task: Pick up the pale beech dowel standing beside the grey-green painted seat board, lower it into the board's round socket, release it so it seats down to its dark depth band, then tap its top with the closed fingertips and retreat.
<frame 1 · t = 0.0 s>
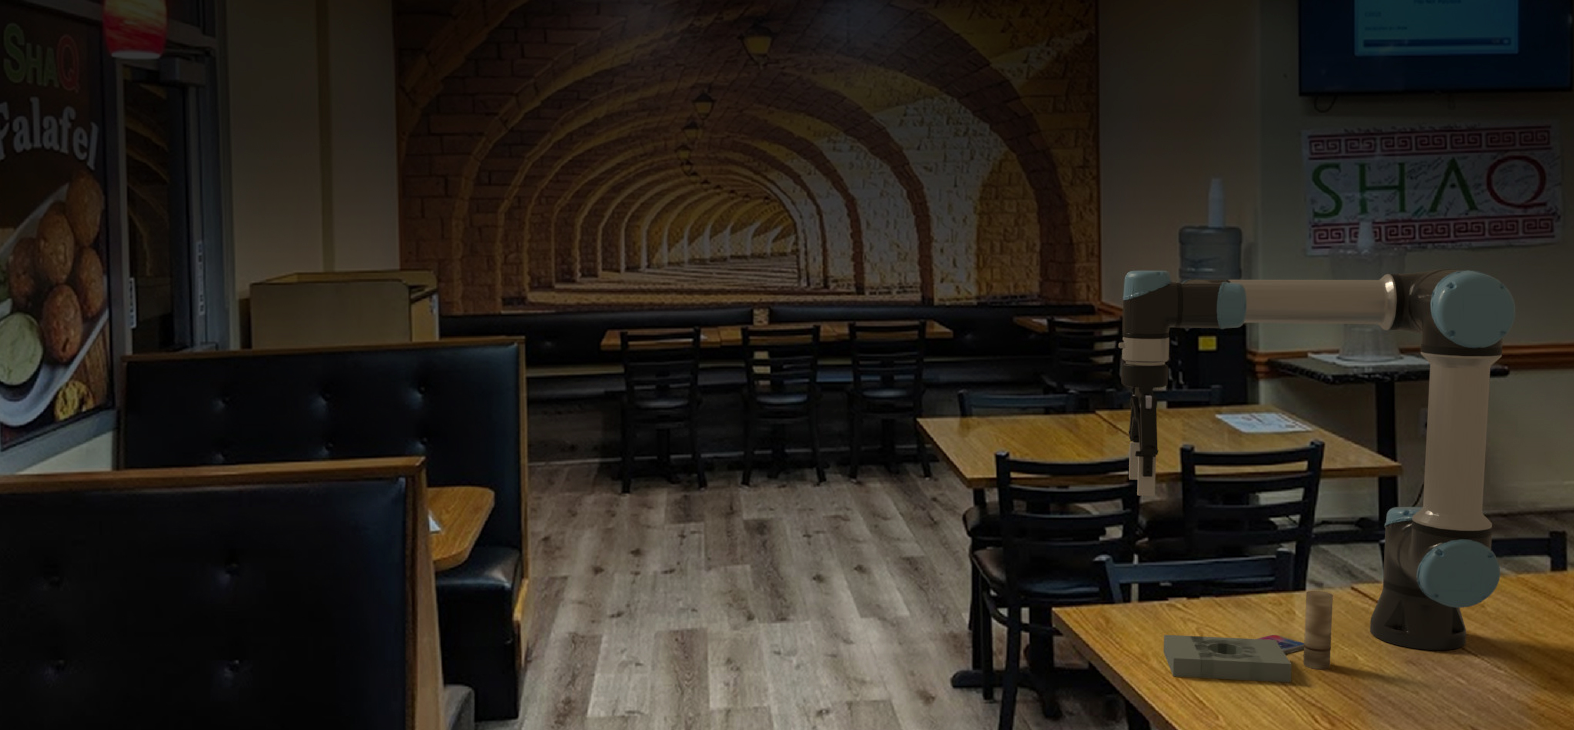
hand: (1141, 487, 216), 28 cm above the table, fingers open, 13 cm apart
smartphone: (1263, 652, 218), on the table
board: (1224, 666, 209), on the table
peg: (1316, 665, 209), on the table
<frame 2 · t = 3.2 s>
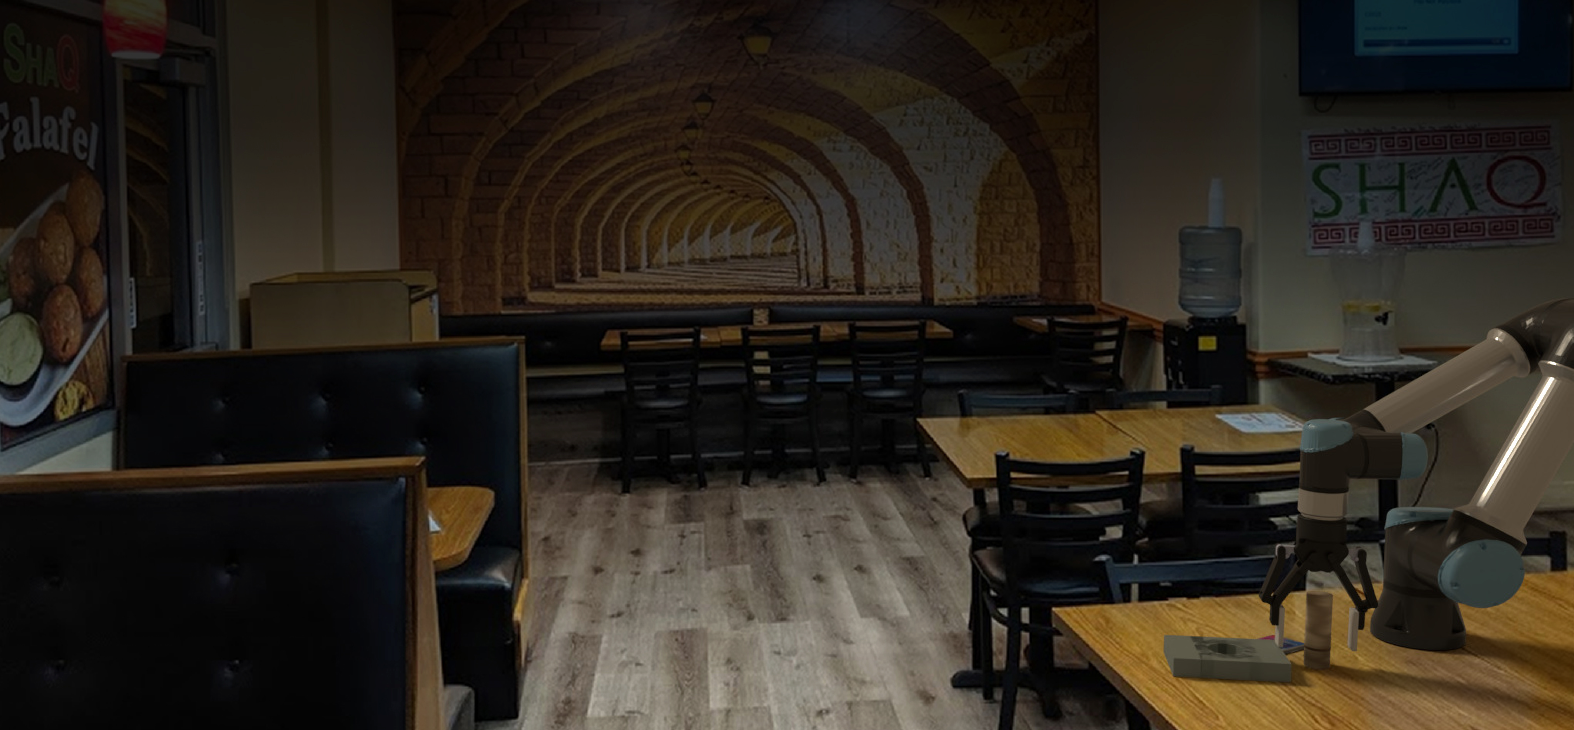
hand: (1315, 646, 209), 3 cm above the table, fingers open, 11 cm apart
nothing on the table moved.
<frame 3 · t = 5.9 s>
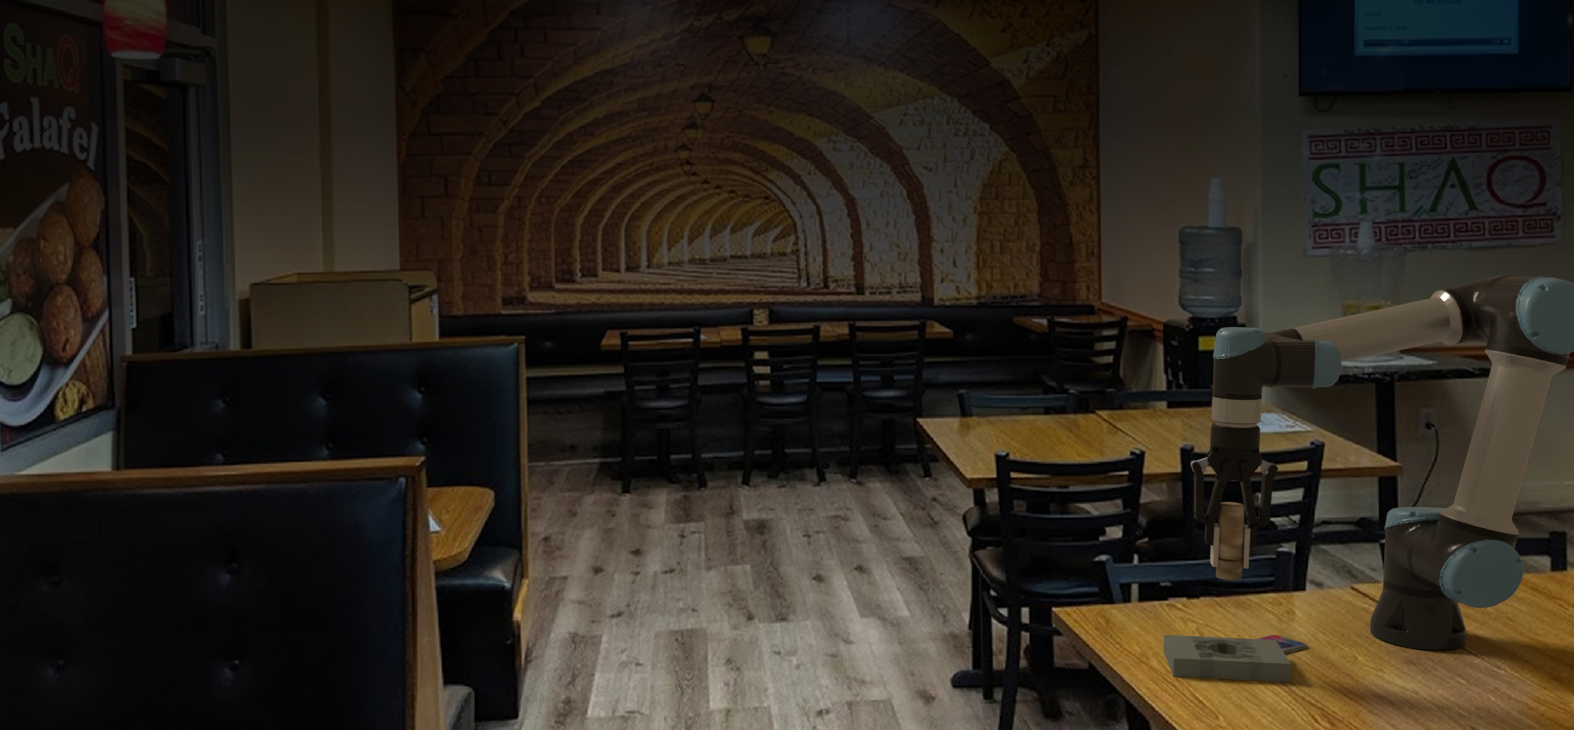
hand: (1229, 565, 207), 17 cm above the table, fingers closed on peg, 4 cm apart
peg: (1228, 576, 207), point 15 cm above the table, touching gripper
everything else where it was.
when the fingers open (4 cm above the table, at t = 8.2 s): peg drops 2 cm, resting in board.
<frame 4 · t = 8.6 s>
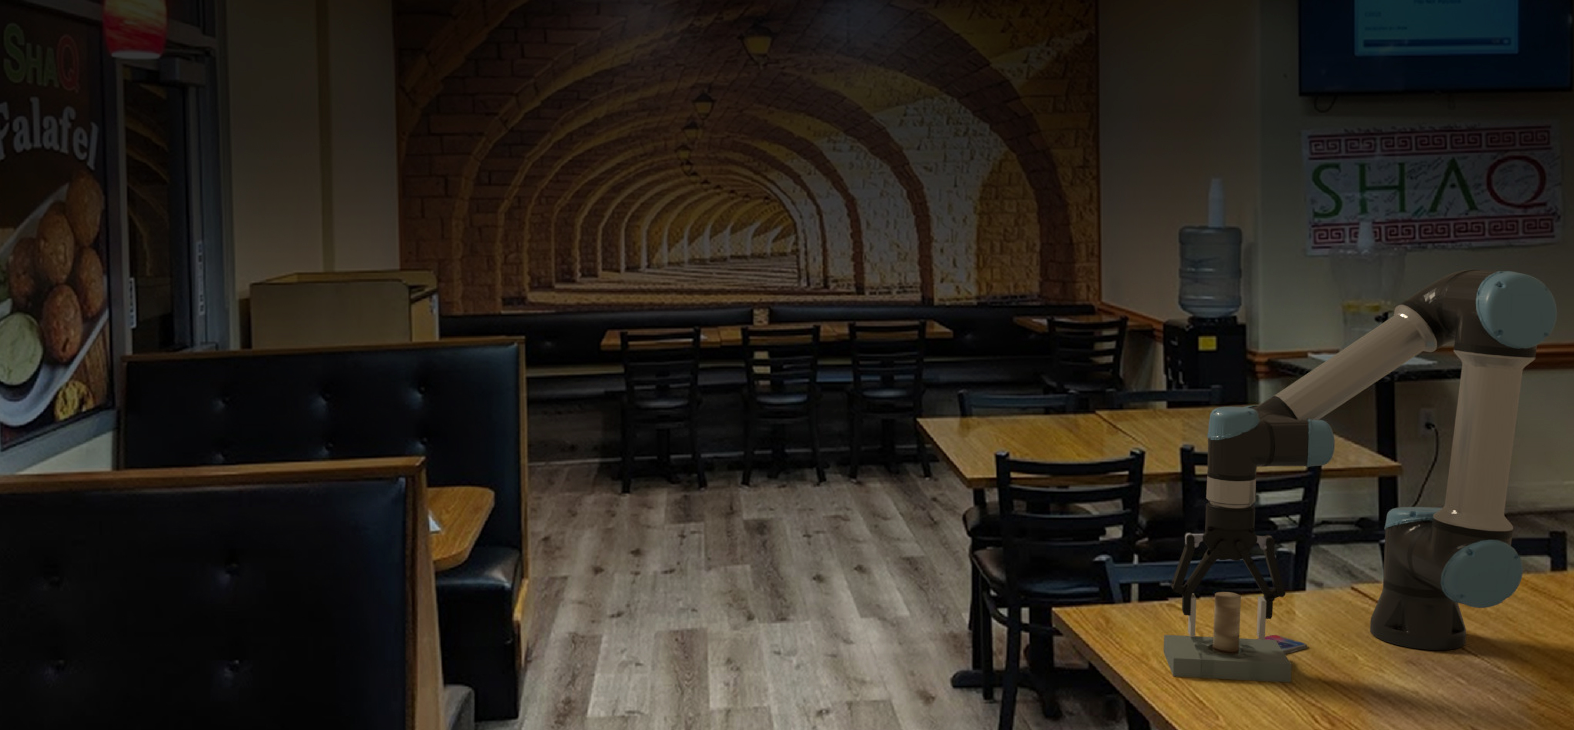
hand: (1225, 635, 208), 5 cm above the table, fingers open, 10 cm apart
peg: (1225, 666, 209), resting in board
everything else where it was.
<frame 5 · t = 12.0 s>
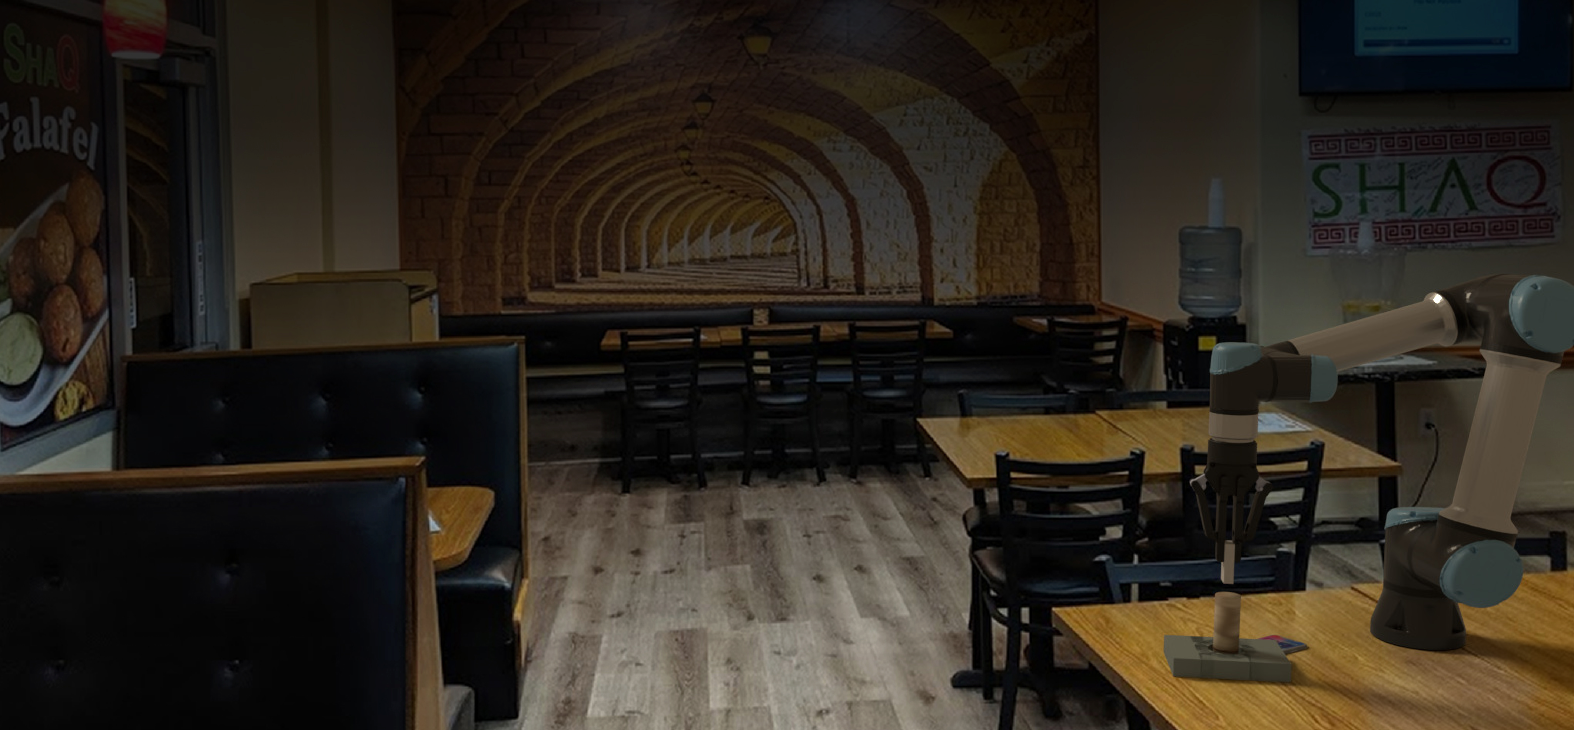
hand: (1227, 581, 207), 14 cm above the table, fingers closed
nothing on the table moved.
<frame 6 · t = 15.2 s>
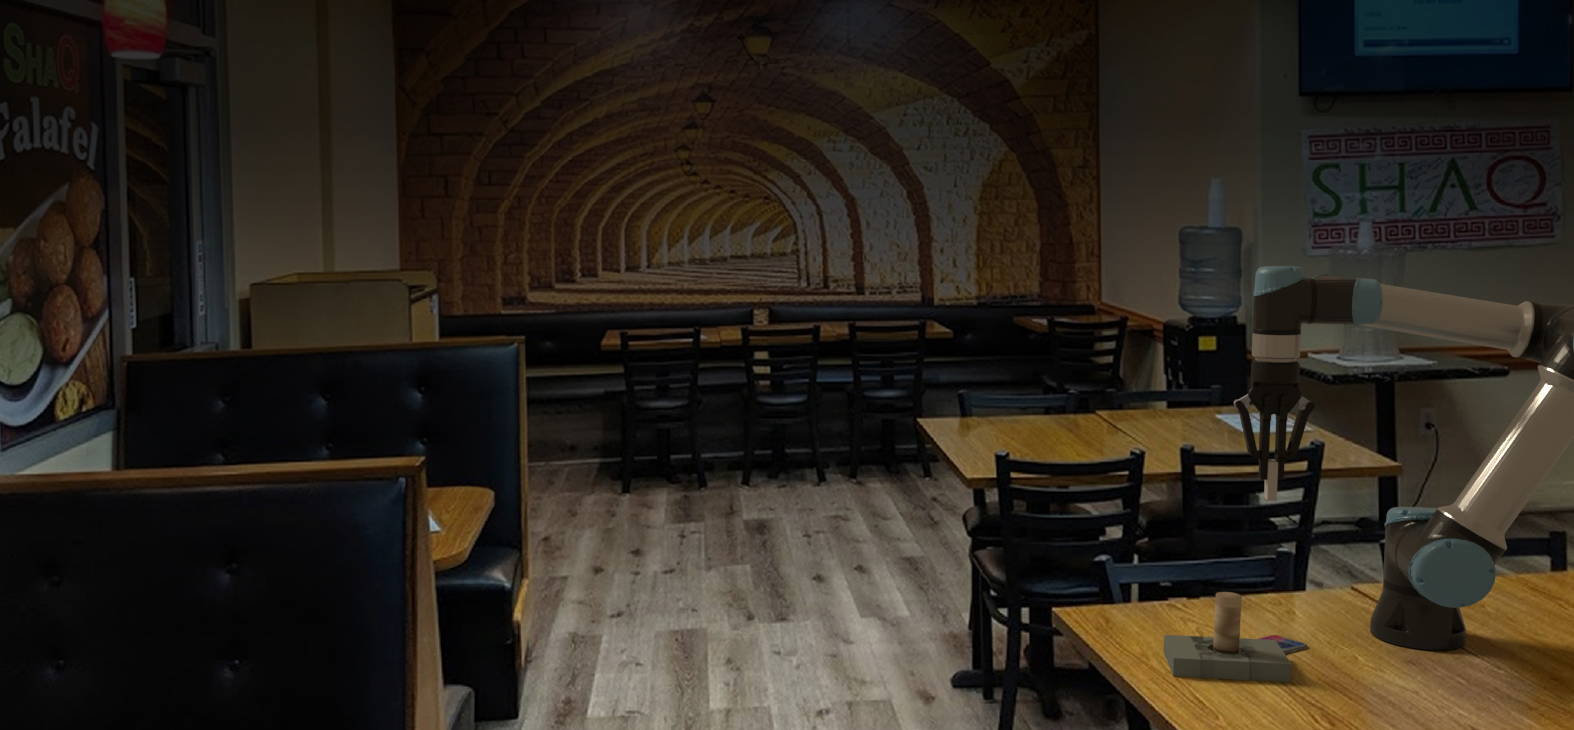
hand: (1270, 498, 214), 26 cm above the table, fingers closed
nothing on the table moved.
at the end: peg 0.0 cm off-centre on the board, point 0.0 cm above the board's base; peg tilted 1°; the gripper is holding nothing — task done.
